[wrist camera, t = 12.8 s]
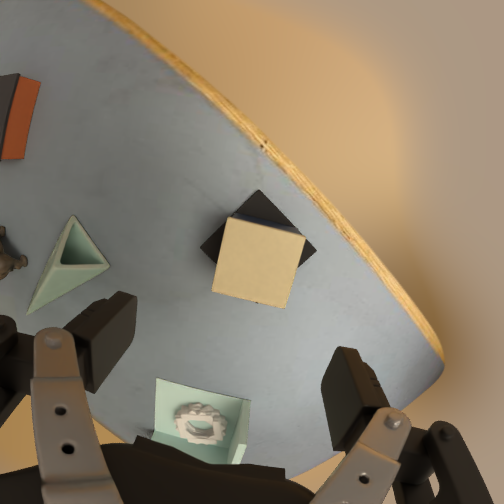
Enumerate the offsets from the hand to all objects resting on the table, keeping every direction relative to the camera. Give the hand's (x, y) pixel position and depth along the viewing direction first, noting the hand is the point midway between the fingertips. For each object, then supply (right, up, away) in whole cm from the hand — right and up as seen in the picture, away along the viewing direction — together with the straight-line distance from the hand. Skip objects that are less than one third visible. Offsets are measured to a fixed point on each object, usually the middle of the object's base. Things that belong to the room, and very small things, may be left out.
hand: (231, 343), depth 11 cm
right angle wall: (-6, -19, +25) cm, 32 cm away
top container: (+1, +4, +18) cm, 18 cm away
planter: (-23, -1, +21) cm, 31 cm away
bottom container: (-30, +21, +16) cm, 40 cm away
